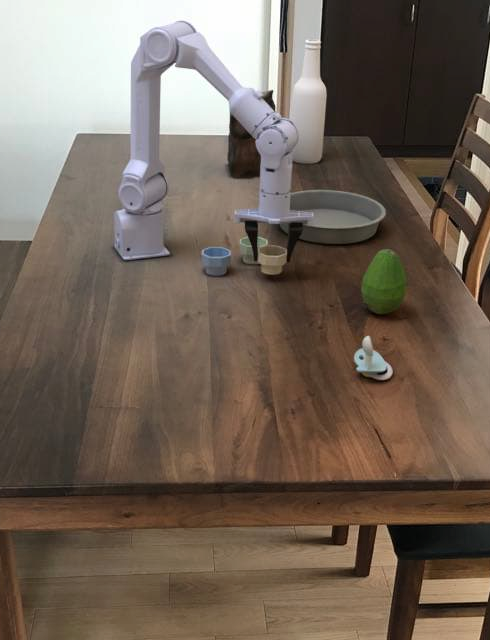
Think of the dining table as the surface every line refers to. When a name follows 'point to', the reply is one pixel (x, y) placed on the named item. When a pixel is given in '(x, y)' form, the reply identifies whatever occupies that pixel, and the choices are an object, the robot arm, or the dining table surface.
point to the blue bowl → (216, 260)
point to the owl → (244, 147)
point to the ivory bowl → (272, 259)
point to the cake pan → (337, 216)
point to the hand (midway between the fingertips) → (271, 259)
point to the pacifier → (371, 362)
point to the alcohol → (309, 107)
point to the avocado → (384, 283)
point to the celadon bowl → (250, 249)
